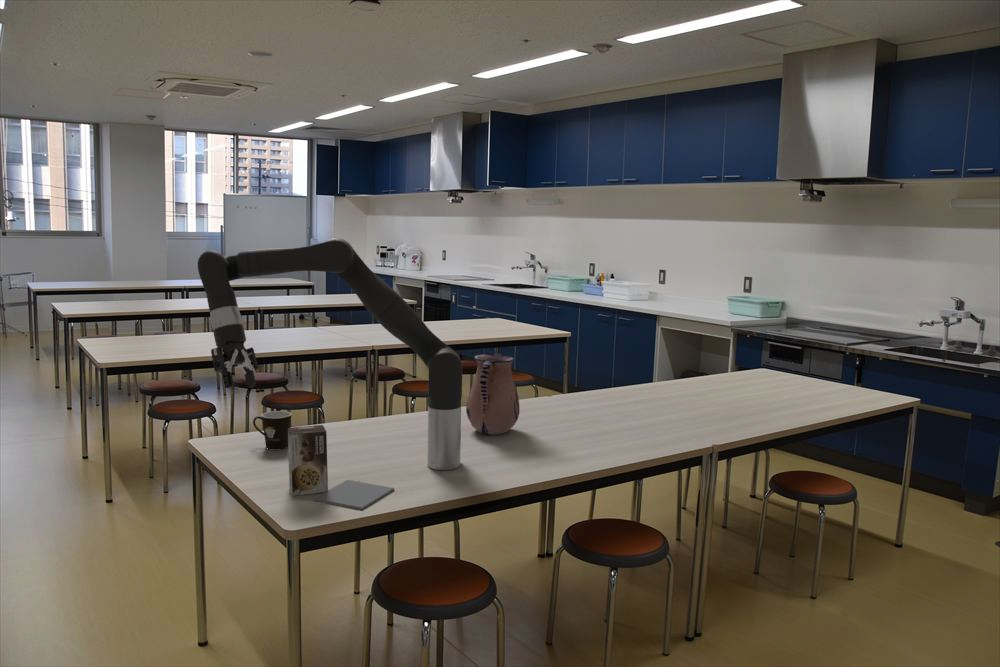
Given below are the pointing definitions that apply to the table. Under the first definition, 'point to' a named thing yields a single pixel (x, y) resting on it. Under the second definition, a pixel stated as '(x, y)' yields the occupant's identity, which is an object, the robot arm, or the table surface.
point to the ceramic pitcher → (493, 395)
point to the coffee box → (307, 460)
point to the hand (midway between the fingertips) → (241, 387)
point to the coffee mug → (275, 428)
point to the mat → (354, 494)
